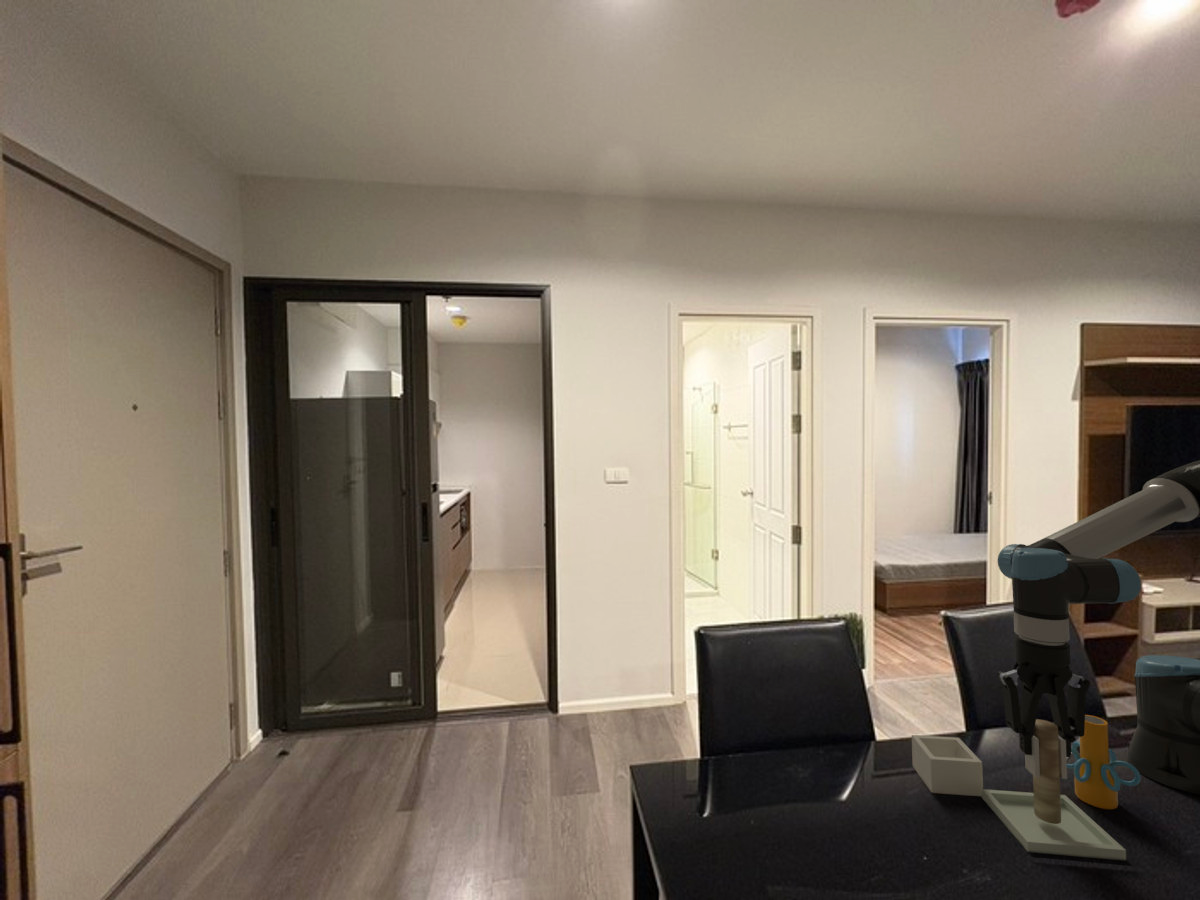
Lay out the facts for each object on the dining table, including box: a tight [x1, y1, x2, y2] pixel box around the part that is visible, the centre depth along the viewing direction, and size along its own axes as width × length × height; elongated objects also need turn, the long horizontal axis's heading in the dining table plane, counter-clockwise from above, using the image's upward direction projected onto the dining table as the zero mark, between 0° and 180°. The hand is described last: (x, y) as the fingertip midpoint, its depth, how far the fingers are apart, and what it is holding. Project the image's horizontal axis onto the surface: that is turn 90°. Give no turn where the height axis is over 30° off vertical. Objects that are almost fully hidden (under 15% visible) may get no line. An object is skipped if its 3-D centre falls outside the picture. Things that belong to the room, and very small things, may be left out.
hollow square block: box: [911, 734, 984, 797], centre depth 107 cm, size 9×9×7 cm
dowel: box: [1032, 718, 1061, 824], centre depth 93 cm, size 4×4×16 cm
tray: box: [981, 788, 1127, 862], centre depth 93 cm, size 14×14×2 cm
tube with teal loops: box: [1067, 714, 1142, 810], centre depth 101 cm, size 12×10×15 cm
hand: (1045, 773), depth 93 cm, fingers closed on dowel, 3 cm apart
